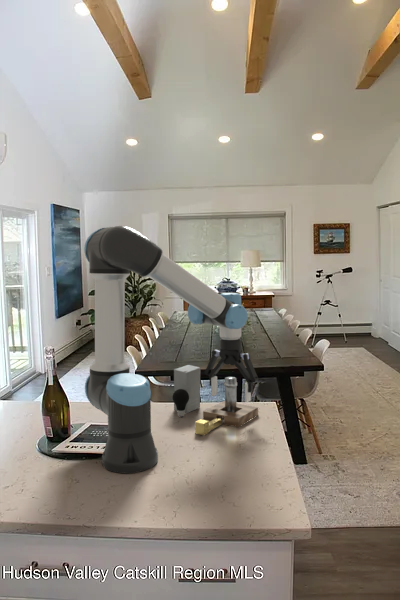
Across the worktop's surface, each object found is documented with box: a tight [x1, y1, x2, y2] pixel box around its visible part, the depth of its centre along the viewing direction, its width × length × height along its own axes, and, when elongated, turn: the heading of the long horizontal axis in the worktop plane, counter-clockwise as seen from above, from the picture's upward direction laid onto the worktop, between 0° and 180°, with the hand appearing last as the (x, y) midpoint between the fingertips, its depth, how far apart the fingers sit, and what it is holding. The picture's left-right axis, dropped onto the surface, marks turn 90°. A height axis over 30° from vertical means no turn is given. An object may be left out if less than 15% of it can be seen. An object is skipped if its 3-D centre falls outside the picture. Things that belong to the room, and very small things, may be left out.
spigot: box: [223, 376, 238, 413], centre depth 166 cm, size 5×5×14 cm
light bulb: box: [171, 389, 189, 418], centre depth 167 cm, size 6×6×10 cm
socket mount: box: [202, 400, 259, 428], centre depth 166 cm, size 14×14×3 cm
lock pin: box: [194, 418, 223, 437], centre depth 155 cm, size 12×3×4 cm, turn 146°
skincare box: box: [173, 364, 201, 414], centre depth 175 cm, size 8×7×16 cm
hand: (230, 398), depth 166 cm, fingers open, 13 cm apart
